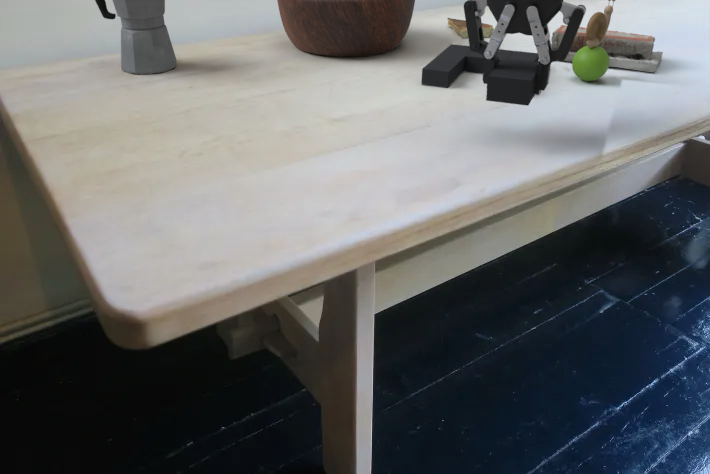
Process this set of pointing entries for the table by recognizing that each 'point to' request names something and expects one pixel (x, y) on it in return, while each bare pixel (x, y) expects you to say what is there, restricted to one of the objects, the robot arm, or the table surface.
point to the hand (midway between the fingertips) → (514, 89)
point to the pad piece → (512, 82)
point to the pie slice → (462, 28)
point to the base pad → (463, 64)
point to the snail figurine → (594, 48)
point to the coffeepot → (142, 35)
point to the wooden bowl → (346, 25)
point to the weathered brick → (617, 48)
